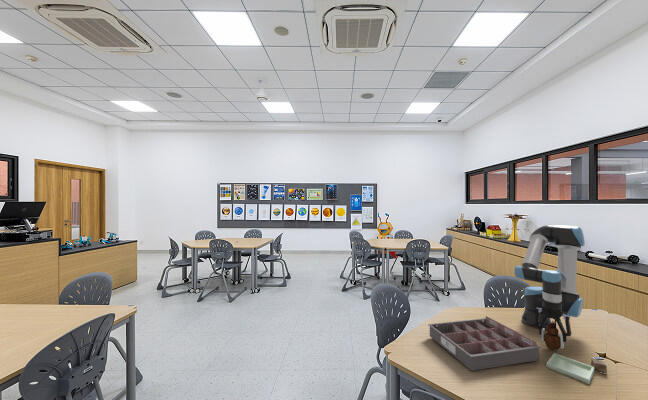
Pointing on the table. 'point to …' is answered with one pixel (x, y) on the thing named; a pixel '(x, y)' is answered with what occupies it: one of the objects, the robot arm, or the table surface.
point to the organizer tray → (484, 343)
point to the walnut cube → (599, 365)
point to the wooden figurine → (552, 337)
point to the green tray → (571, 368)
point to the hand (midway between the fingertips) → (552, 344)
